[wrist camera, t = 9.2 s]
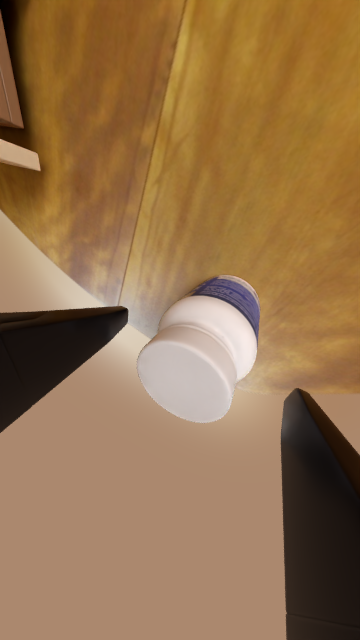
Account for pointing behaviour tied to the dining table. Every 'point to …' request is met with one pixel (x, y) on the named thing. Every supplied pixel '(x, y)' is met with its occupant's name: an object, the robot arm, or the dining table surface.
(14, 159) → the drawer
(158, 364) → the pill bottle
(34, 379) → the robot arm
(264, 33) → the dining table surface
